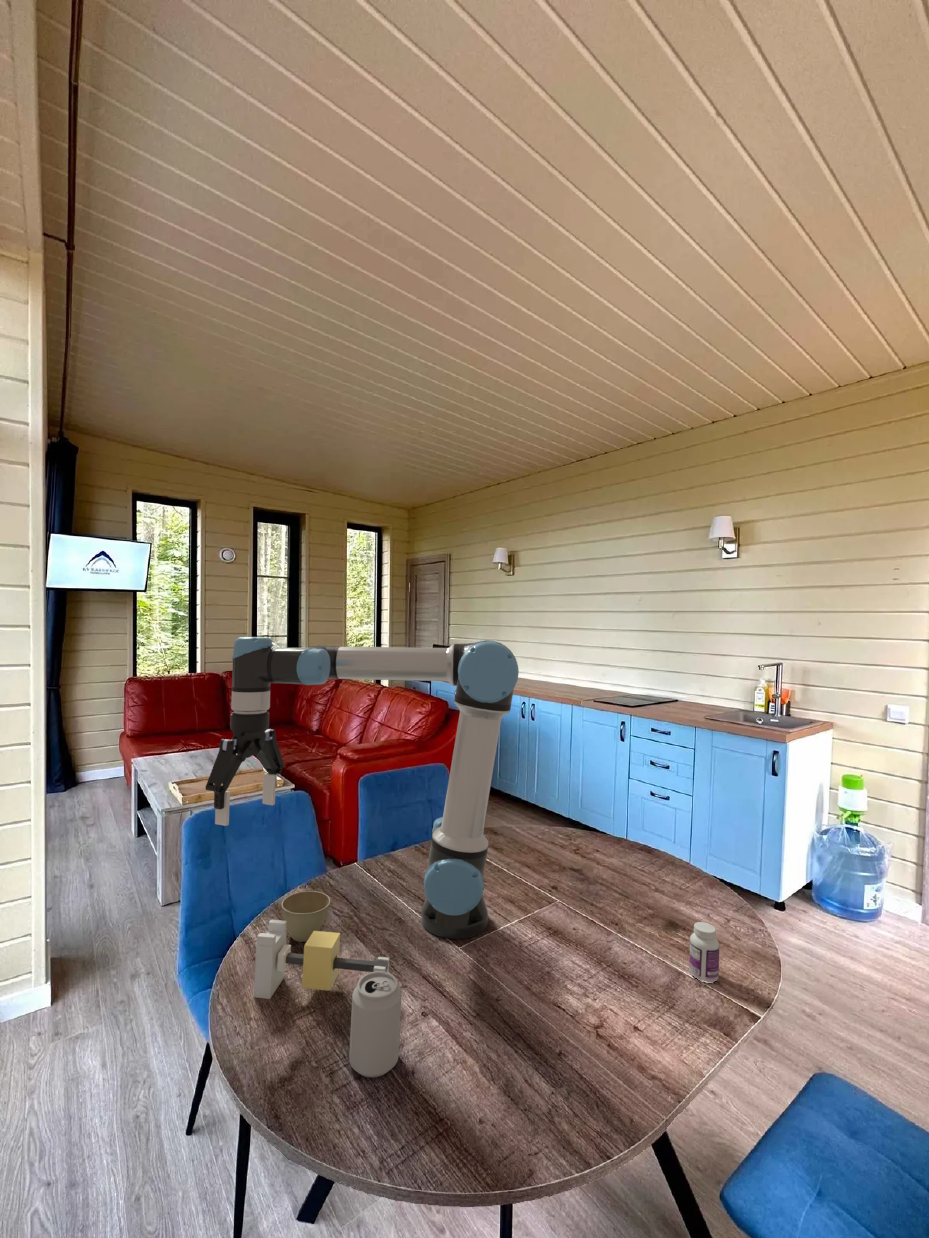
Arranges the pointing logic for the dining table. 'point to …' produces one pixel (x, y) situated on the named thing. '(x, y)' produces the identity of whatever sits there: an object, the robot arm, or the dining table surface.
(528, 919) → the dining table surface
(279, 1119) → the dining table surface
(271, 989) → the linear slide mechanism
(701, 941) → the pill bottle
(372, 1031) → the can
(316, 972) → the sleeve
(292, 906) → the flower pot
